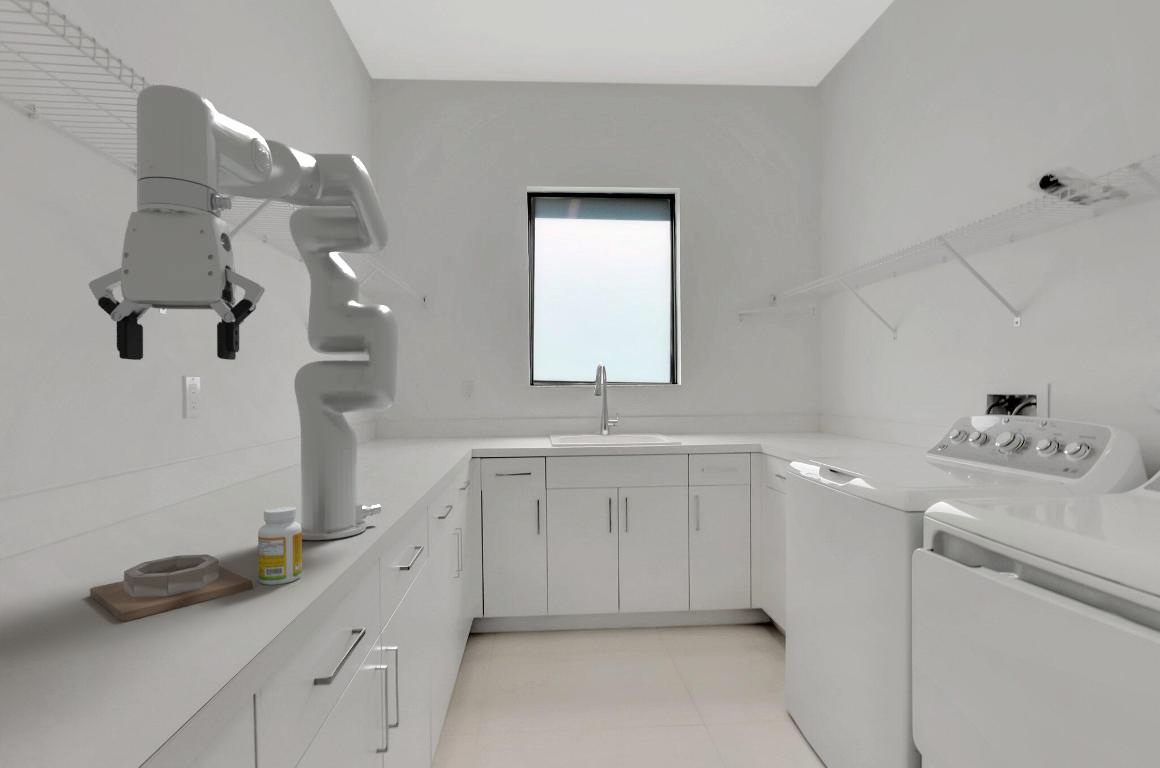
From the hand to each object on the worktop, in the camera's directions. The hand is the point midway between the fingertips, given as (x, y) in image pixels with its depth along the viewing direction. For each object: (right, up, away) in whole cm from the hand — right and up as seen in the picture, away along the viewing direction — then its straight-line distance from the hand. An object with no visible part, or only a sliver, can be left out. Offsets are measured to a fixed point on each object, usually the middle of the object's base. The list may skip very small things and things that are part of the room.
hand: (179, 359), depth 65 cm
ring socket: (-9, -30, +11) cm, 33 cm away
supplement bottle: (+3, -30, +16) cm, 34 cm away
